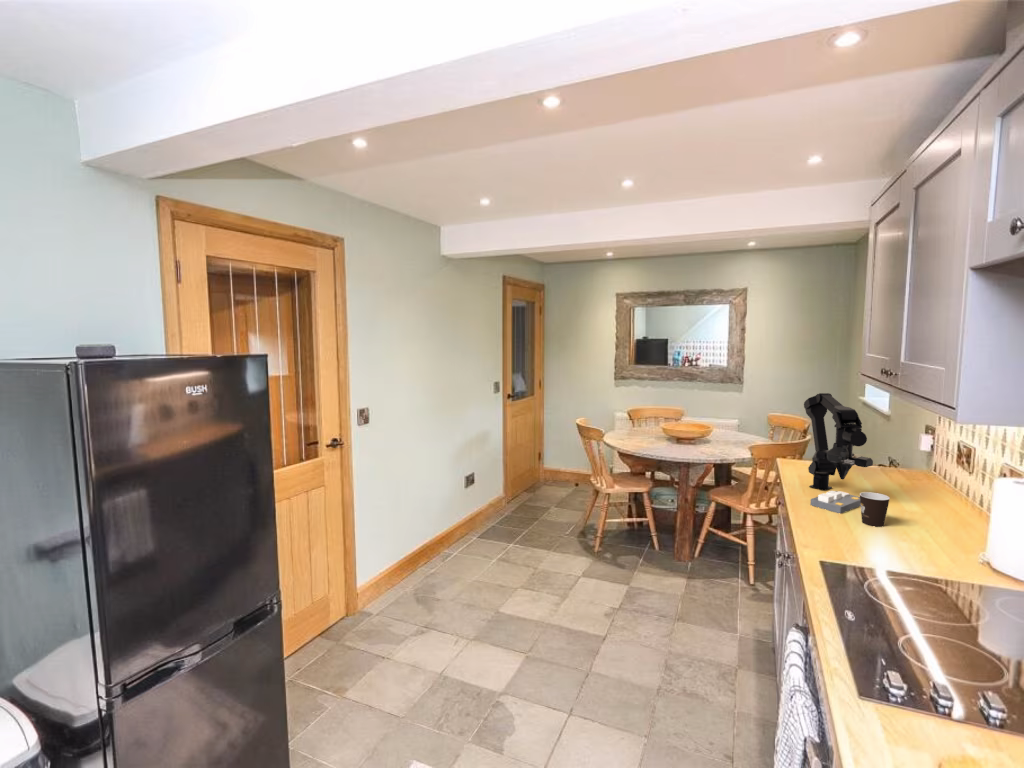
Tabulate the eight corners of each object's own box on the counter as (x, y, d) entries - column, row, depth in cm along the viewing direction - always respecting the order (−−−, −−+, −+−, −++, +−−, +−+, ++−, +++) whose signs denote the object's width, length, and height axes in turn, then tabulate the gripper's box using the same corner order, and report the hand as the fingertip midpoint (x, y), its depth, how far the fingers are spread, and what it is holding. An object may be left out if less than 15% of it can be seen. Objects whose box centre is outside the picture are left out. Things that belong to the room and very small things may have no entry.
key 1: (823, 500, 200) (823, 493, 199) (833, 503, 196) (833, 495, 196) (817, 502, 198) (818, 495, 197) (828, 505, 194) (828, 497, 194)
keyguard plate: (835, 496, 208) (835, 490, 208) (864, 504, 199) (865, 497, 198) (810, 505, 199) (810, 498, 199) (840, 513, 190) (840, 506, 189)
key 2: (838, 498, 206) (839, 491, 205) (849, 500, 202) (849, 493, 202) (833, 500, 204) (834, 492, 203) (844, 502, 200) (844, 495, 200)
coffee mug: (887, 530, 174) (889, 501, 173) (857, 524, 179) (858, 497, 178) (888, 519, 183) (890, 492, 182) (859, 514, 188) (860, 488, 187)
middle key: (831, 497, 203) (831, 490, 202) (841, 500, 199) (841, 493, 199) (826, 499, 201) (826, 492, 200) (836, 502, 197) (836, 494, 197)
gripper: (808, 439, 204) (807, 477, 206) (859, 447, 188) (857, 488, 190) (823, 435, 210) (822, 472, 211) (874, 443, 194) (872, 483, 195)
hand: (842, 479), depth 202 cm, fingers closed
